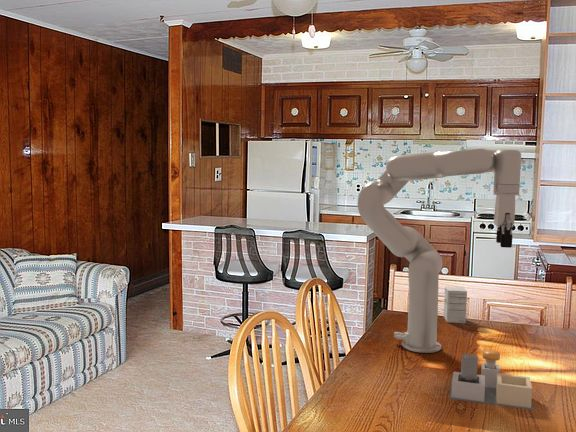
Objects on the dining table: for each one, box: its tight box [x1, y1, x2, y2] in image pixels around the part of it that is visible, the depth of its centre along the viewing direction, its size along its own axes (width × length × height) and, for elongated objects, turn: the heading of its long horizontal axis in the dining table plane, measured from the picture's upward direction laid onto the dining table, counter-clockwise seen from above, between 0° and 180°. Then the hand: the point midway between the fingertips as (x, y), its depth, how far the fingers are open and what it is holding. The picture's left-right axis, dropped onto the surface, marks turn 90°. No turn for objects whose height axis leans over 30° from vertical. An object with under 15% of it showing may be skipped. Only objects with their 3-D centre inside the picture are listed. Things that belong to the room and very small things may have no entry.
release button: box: [482, 349, 501, 369], centre depth 160 cm, size 4×4×6 cm
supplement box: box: [443, 286, 468, 324], centre depth 229 cm, size 7×7×13 cm
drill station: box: [448, 362, 534, 411], centre depth 156 cm, size 20×16×6 cm
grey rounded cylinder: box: [460, 353, 479, 383], centre depth 154 cm, size 4×4×10 cm
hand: (503, 244), depth 184 cm, fingers open, 9 cm apart
